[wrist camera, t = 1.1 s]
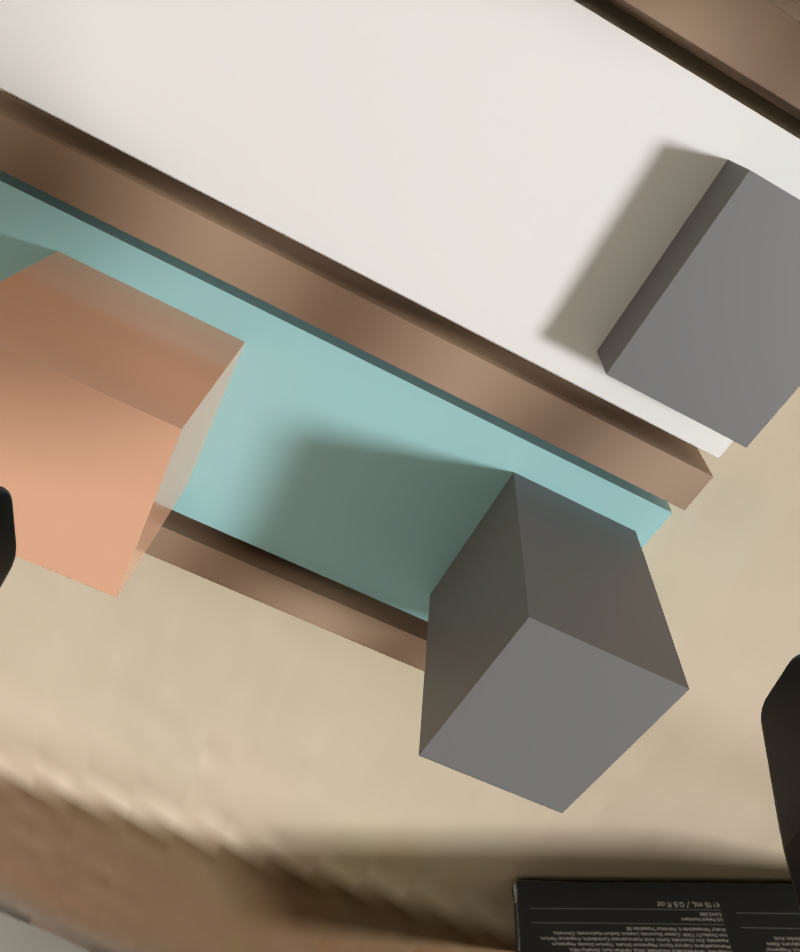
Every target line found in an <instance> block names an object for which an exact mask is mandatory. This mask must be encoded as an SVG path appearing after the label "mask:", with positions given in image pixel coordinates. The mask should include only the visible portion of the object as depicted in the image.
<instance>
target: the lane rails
mask: <svg viewBox="0 0 800 952" xmlns="http://www.w3.org/2000/svg"><path fill="white" fill-rule="evenodd" d="M606 1H608V2H609V3H611V4H613V5H614V6H616V7H617V8H619V9H621V10H622V11H624V12H625V13H627V14H629V15H630V16H632V17H634V18H635V19H637V20H638V21H640V22H642V23H643V24H645V25H646V26H648V27H650V28H651V29H653V30H655V31H656V32H658V33H659V34H661V35H663V36H664V37H666V38H667V39H669V40H671V41H672V42H674V43H675V44H677V45H679V46H680V47H682V48H684V49H685V50H687V51H688V52H690V53H692V54H693V55H695V56H696V57H698V58H700V59H701V60H703V61H705V62H706V63H708V64H709V65H711V66H713V67H714V68H716V69H717V70H719V71H721V72H722V73H724V74H726V75H727V76H729V77H730V78H732V79H734V80H735V81H737V82H738V83H740V84H742V85H743V86H745V87H747V88H748V89H750V90H751V91H753V92H755V93H756V94H758V95H759V96H761V97H763V98H764V99H766V100H767V101H769V102H771V103H772V104H774V105H776V106H777V107H779V108H780V109H782V110H784V111H785V112H787V113H788V114H790V115H792V116H793V117H795V118H797V119H798V120H800V22H799V21H798V20H796V19H795V18H793V17H792V16H790V15H789V14H787V13H785V12H784V11H782V10H781V9H779V8H778V7H776V6H775V5H773V4H772V3H770V2H768V1H767V0H606ZM0 170H1V171H3V172H5V173H7V174H9V175H11V176H13V177H15V178H17V179H19V180H21V181H23V182H25V183H27V184H29V185H31V186H33V187H35V188H37V189H39V190H41V191H43V192H45V193H47V194H49V195H51V196H53V197H55V198H57V199H59V200H61V201H63V202H66V203H68V204H70V205H72V206H74V207H76V208H78V209H80V210H82V211H84V212H86V213H88V214H90V215H92V216H94V217H96V218H98V219H100V220H102V221H104V222H106V223H108V224H110V225H112V226H114V227H116V228H118V229H120V230H122V231H124V232H126V233H128V234H130V235H132V236H134V237H136V238H138V239H140V240H142V241H144V242H146V243H148V244H150V245H152V246H154V247H156V248H158V249H160V250H162V251H164V252H166V253H168V254H170V255H172V256H174V257H176V258H178V259H180V260H182V261H184V262H186V263H188V264H190V265H192V266H194V267H196V268H198V269H200V270H202V271H204V272H206V273H208V274H210V275H212V276H214V277H216V278H218V279H220V280H223V281H225V282H227V283H229V284H231V285H233V286H235V287H237V288H239V289H241V290H243V291H245V292H247V293H249V294H251V295H253V296H255V297H257V298H259V299H261V300H263V301H265V302H267V303H269V304H271V305H273V306H275V307H277V308H279V309H281V310H283V311H285V312H287V313H289V314H291V315H293V316H295V317H297V318H299V319H301V320H303V321H305V322H307V323H309V324H311V325H313V326H315V327H317V328H319V329H321V330H323V331H325V332H327V333H329V334H331V335H333V336H335V337H337V338H339V339H341V340H343V341H345V342H347V343H349V344H351V345H353V346H355V347H357V348H359V349H361V350H363V351H365V352H367V353H369V354H371V355H373V356H375V357H378V358H380V359H382V360H384V361H386V362H388V363H390V364H392V365H394V366H396V367H398V368H400V369H402V370H404V371H406V372H408V373H410V374H412V375H414V376H416V377H418V378H420V379H422V380H424V381H426V382H428V383H430V384H432V385H434V386H436V387H438V388H440V389H442V390H444V391H446V392H448V393H450V394H452V395H454V396H456V397H458V398H460V399H462V400H464V401H466V402H468V403H470V404H472V405H474V406H476V407H478V408H480V409H482V410H484V411H486V412H488V413H490V414H492V415H494V416H496V417H498V418H500V419H502V420H504V421H506V422H508V423H510V424H512V425H514V426H516V427H518V428H520V429H522V430H524V431H526V432H528V433H530V434H532V435H535V436H537V437H539V438H541V439H543V440H545V441H547V442H549V443H551V444H553V445H555V446H557V447H559V448H561V449H563V450H565V451H567V452H569V453H571V454H573V455H575V456H577V457H579V458H581V459H583V460H585V461H587V462H589V463H591V464H593V465H595V466H597V467H599V468H601V469H603V470H605V471H607V472H609V473H611V474H613V475H615V476H617V477H619V478H621V479H623V480H625V481H627V482H629V483H631V484H633V485H635V486H637V487H639V488H641V489H643V490H645V491H647V492H649V493H651V494H653V495H655V496H657V497H659V498H661V499H663V500H665V501H667V502H669V503H671V504H673V505H675V506H677V507H679V508H681V509H683V510H685V509H686V508H687V507H688V506H689V504H690V503H691V502H692V501H693V500H694V499H695V497H696V496H697V495H698V494H699V493H700V492H701V490H702V489H703V488H704V487H705V486H706V485H707V483H708V482H709V481H710V480H711V479H712V478H713V476H712V474H711V472H710V470H709V469H708V467H707V465H706V463H705V461H704V460H703V458H702V456H701V454H700V452H699V451H698V449H697V448H696V447H694V446H692V445H690V444H688V443H686V442H684V441H682V440H680V439H678V438H676V437H674V436H672V435H670V434H669V433H667V432H665V431H663V430H661V429H659V428H657V427H655V426H653V425H651V424H649V423H647V422H645V421H643V420H641V419H639V418H637V417H636V416H634V415H632V414H630V413H628V412H626V411H624V410H622V409H620V408H618V407H616V406H614V405H612V404H610V403H608V402H606V401H604V400H603V399H601V398H599V397H597V396H595V395H593V394H591V393H589V392H587V391H585V390H583V389H581V388H579V387H577V386H575V385H573V384H571V383H569V382H568V381H566V380H564V379H562V378H560V377H558V376H556V375H554V374H552V373H550V372H548V371H546V370H544V369H542V368H540V367H538V366H536V365H535V364H533V363H531V362H529V361H527V360H525V359H523V358H521V357H519V356H517V355H515V354H513V353H511V352H509V351H507V350H505V349H503V348H502V347H500V346H498V345H496V344H494V343H492V342H490V341H488V340H486V339H484V338H482V337H480V336H478V335H476V334H474V333H472V332H470V331H469V330H467V329H465V328H463V327H461V326H459V325H457V324H455V323H453V322H451V321H449V320H447V319H445V318H443V317H441V316H439V315H437V314H436V313H434V312H432V311H430V310H428V309H426V308H424V307H422V306H420V305H418V304H416V303H414V302H412V301H410V300H408V299H406V298H404V297H402V296H401V295H399V294H397V293H395V292H393V291H391V290H389V289H387V288H385V287H383V286H381V285H379V284H377V283H375V282H373V281H371V280H369V279H368V278H366V277H364V276H362V275H360V274H358V273H356V272H354V271H352V270H350V269H348V268H346V267H344V266H342V265H340V264H338V263H336V262H335V261H333V260H331V259H329V258H327V257H325V256H323V255H321V254H319V253H317V252H315V251H313V250H311V249H309V248H307V247H305V246H303V245H302V244H300V243H298V242H296V241H294V240H292V239H290V238H288V237H286V236H284V235H282V234H280V233H278V232H276V231H274V230H272V229H270V228H269V227H267V226H265V225H263V224H261V223H259V222H257V221H255V220H253V219H251V218H249V217H247V216H245V215H243V214H241V213H239V212H237V211H236V210H234V209H232V208H230V207H228V206H226V205H224V204H222V203H220V202H218V201H216V200H214V199H212V198H210V197H208V196H206V195H204V194H202V193H201V192H199V191H197V190H195V189H193V188H191V187H189V186H187V185H185V184H183V183H181V182H179V181H177V180H175V179H173V178H171V177H169V176H168V175H166V174H164V173H162V172H160V171H158V170H156V169H154V168H152V167H150V166H148V165H146V164H144V163H142V162H140V161H138V160H136V159H135V158H133V157H131V156H129V155H127V154H125V153H123V152H121V151H119V150H117V149H115V148H113V147H111V146H109V145H107V144H105V143H103V142H102V141H100V140H98V139H96V138H94V137H92V136H90V135H88V134H86V133H84V132H82V131H80V130H78V129H76V128H74V127H72V126H70V125H69V124H67V123H65V122H63V121H61V120H59V119H57V118H55V117H53V116H51V115H49V114H47V113H45V112H43V111H41V110H39V109H37V108H35V107H34V106H32V105H30V104H28V103H26V102H24V101H22V100H20V99H18V98H16V97H14V96H12V95H10V94H8V93H6V92H0ZM145 553H147V554H149V555H151V556H154V557H156V558H158V559H161V560H163V561H165V562H168V563H170V564H172V565H175V566H177V567H180V568H182V569H184V570H187V571H189V572H191V573H194V574H196V575H198V576H201V577H203V578H205V579H208V580H210V581H213V582H215V583H217V584H220V585H222V586H224V587H227V588H229V589H231V590H234V591H236V592H238V593H241V594H243V595H245V596H248V597H250V598H253V599H255V600H257V601H260V602H262V603H264V604H267V605H269V606H271V607H274V608H276V609H278V610H281V611H283V612H286V613H288V614H290V615H293V616H295V617H297V618H300V619H302V620H304V621H307V622H309V623H311V624H314V625H316V626H319V627H321V628H323V629H326V630H328V631H330V632H333V633H335V634H337V635H340V636H342V637H344V638H347V639H349V640H352V641H354V642H356V643H359V644H361V645H363V646H366V647H368V648H370V649H373V650H375V651H377V652H380V653H382V654H385V655H387V656H389V657H392V658H394V659H396V660H399V661H401V662H403V663H406V664H408V665H410V666H413V667H415V668H418V669H420V670H422V671H425V660H426V646H427V631H428V622H427V621H425V620H423V619H420V618H418V617H416V616H414V615H411V614H409V613H407V612H404V611H402V610H400V609H398V608H395V607H393V606H391V605H388V604H386V603H384V602H382V601H379V600H377V599H375V598H372V597H370V596H368V595H366V594H363V593H361V592H359V591H356V590H354V589H352V588H350V587H347V586H345V585H343V584H340V583H338V582H336V581H334V580H331V579H329V578H327V577H324V576H322V575H320V574H318V573H315V572H313V571H311V570H308V569H306V568H304V567H302V566H299V565H297V564H295V563H292V562H290V561H288V560H286V559H283V558H281V557H279V556H276V555H274V554H272V553H269V552H267V551H265V550H263V549H260V548H258V547H256V546H253V545H251V544H249V543H247V542H244V541H242V540H240V539H237V538H235V537H233V536H231V535H228V534H226V533H224V532H221V531H219V530H217V529H215V528H212V527H210V526H208V525H205V524H203V523H201V522H199V521H196V520H194V519H192V518H189V517H187V516H185V515H183V514H180V513H178V512H176V511H173V510H171V512H170V513H169V515H168V517H167V518H166V520H165V521H164V523H163V524H162V526H161V528H160V529H159V531H158V532H157V534H156V536H155V537H154V539H153V540H152V542H151V544H150V545H149V547H148V548H147V550H146V552H145Z"/></svg>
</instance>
